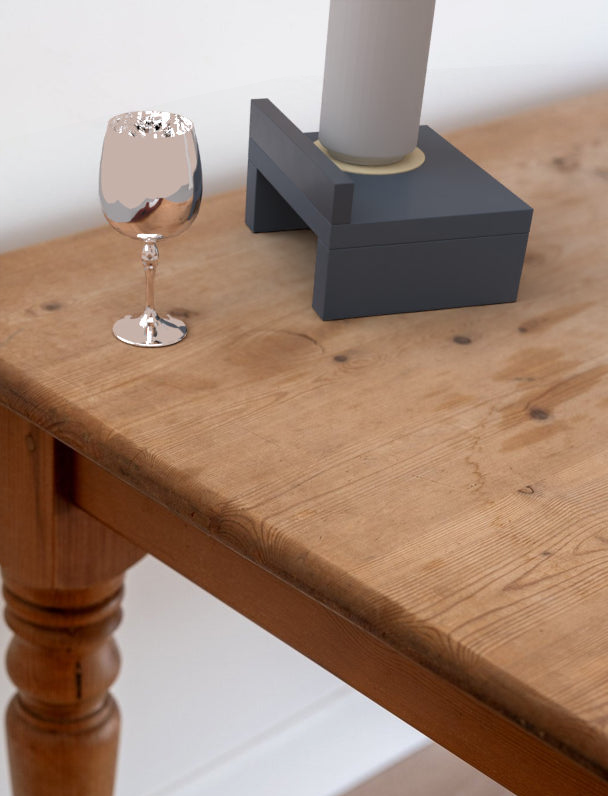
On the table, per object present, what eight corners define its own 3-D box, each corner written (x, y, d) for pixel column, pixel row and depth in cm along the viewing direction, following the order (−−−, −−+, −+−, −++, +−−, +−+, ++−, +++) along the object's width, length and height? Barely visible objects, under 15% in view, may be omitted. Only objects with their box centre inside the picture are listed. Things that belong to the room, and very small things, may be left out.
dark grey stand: (416, 208, 94) (432, 88, 89) (516, 302, 82) (541, 169, 76) (244, 222, 91) (250, 98, 86) (322, 321, 79) (335, 184, 73)
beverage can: (297, 148, 85) (311, -53, 78) (366, 130, 88) (386, -64, 81) (366, 177, 81) (389, -32, 74) (436, 157, 84) (464, -45, 77)
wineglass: (214, 321, 78) (221, 118, 71) (172, 360, 74) (175, 148, 67) (129, 301, 80) (128, 101, 73) (83, 338, 76) (77, 130, 68)
